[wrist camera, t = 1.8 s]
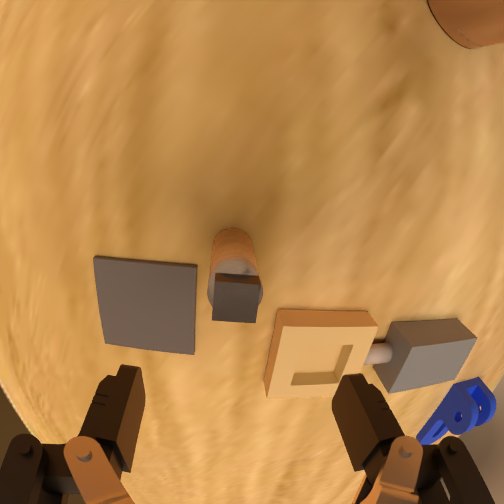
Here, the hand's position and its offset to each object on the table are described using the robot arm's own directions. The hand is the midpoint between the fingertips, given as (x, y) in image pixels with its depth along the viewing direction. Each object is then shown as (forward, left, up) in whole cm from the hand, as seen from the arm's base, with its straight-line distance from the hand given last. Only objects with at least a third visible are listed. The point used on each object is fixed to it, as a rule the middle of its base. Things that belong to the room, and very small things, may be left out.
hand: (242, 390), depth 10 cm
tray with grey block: (+11, +18, -16) cm, 27 cm away
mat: (+7, -8, -16) cm, 20 cm away
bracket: (+31, +44, -17) cm, 56 cm away
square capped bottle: (0, 0, -17) cm, 17 cm away
